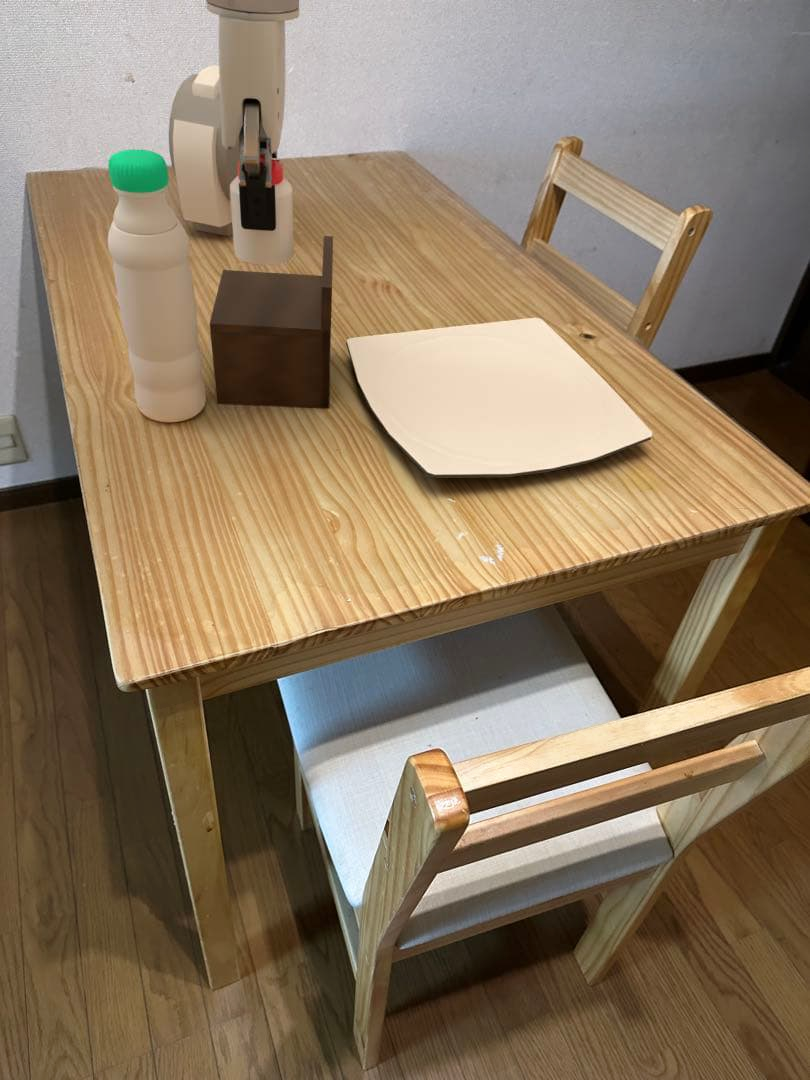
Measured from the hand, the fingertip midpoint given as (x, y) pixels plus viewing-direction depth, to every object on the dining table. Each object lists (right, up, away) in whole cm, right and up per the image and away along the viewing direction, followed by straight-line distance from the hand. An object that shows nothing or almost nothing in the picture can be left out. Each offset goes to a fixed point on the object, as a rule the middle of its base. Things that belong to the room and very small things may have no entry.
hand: (261, 213), depth 74 cm
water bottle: (-11, -18, +7) cm, 22 cm away
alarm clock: (-13, +17, +43) cm, 48 cm away
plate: (+23, -17, +13) cm, 31 cm away
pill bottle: (0, -3, +3) cm, 4 cm away
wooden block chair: (-1, -13, +13) cm, 18 cm away
